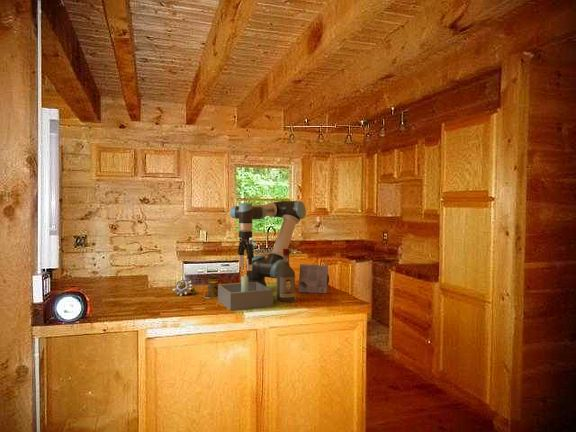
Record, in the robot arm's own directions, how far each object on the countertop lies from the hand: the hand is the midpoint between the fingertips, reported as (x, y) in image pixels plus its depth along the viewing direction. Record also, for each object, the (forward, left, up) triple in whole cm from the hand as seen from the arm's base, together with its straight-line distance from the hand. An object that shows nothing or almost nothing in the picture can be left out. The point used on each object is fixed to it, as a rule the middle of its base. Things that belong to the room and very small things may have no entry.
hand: (245, 268), depth 221 cm
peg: (0, 0, -20) cm, 20 cm away
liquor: (+3, +24, -20) cm, 31 cm away
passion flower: (-34, -27, -20) cm, 48 cm away
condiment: (-23, -13, -20) cm, 33 cm away
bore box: (0, 0, -20) cm, 20 cm away
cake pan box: (-10, +50, -20) cm, 54 cm away
